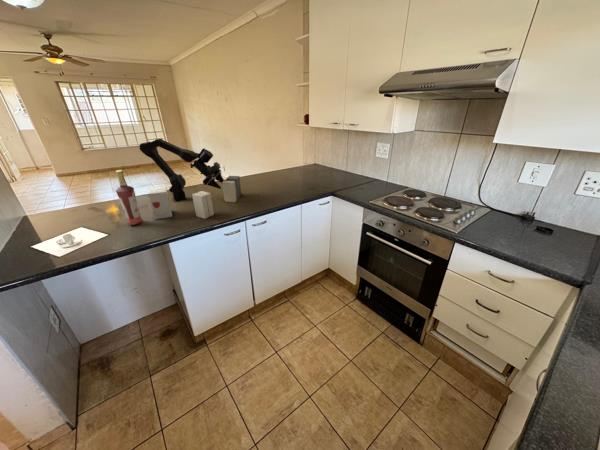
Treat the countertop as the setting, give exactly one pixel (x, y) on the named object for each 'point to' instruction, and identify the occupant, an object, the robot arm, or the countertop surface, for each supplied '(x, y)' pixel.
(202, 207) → the white book
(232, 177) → the grey book
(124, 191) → the liquor
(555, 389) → the countertop surface
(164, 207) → the white product box
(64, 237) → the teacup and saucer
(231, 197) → the white book
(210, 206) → the white book
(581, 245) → the countertop surface
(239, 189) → the grey book
